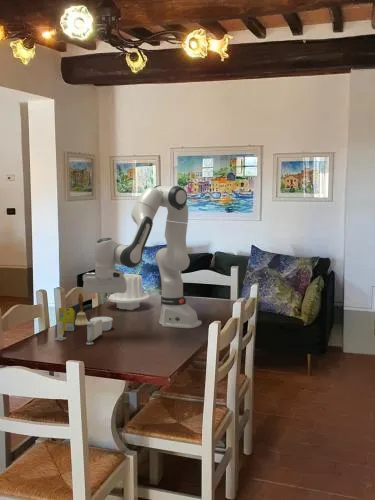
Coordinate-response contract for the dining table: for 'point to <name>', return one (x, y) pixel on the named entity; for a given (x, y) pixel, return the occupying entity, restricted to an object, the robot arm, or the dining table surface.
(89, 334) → the gate post
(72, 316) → the crayon box
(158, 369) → the dining table surface
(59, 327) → the post
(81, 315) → the hand bell
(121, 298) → the ribbed cylinder on disc
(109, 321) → the ramekin
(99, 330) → the gate
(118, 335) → the dining table surface
